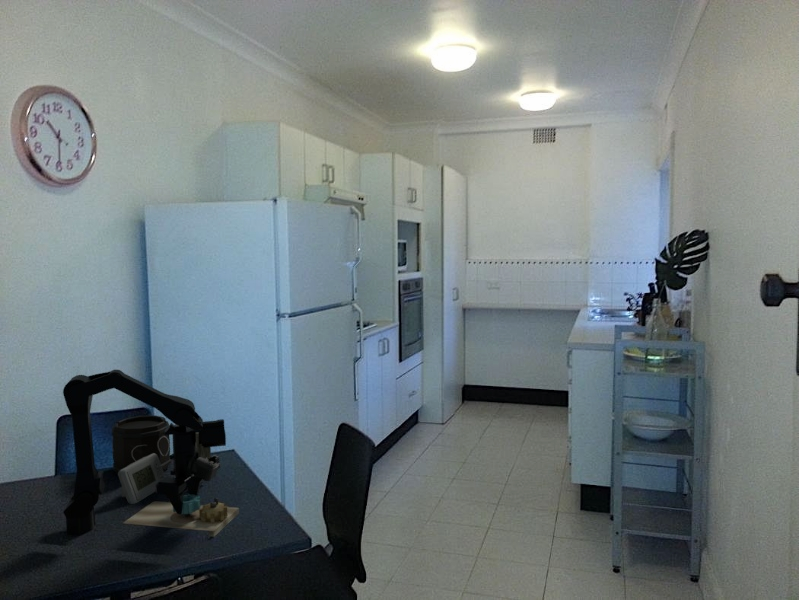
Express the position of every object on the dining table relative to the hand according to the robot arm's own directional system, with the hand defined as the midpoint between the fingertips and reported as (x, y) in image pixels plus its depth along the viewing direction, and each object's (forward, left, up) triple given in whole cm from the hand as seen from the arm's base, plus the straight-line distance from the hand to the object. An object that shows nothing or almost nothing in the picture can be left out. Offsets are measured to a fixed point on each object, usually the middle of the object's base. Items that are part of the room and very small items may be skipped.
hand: (186, 507), depth 166 cm
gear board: (0, +1, -4) cm, 4 cm away
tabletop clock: (+25, +12, -4) cm, 28 cm away
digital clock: (+13, +20, -4) cm, 24 cm away
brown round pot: (+33, +34, -4) cm, 48 cm away
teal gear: (0, 0, 0) cm, 0 cm away
